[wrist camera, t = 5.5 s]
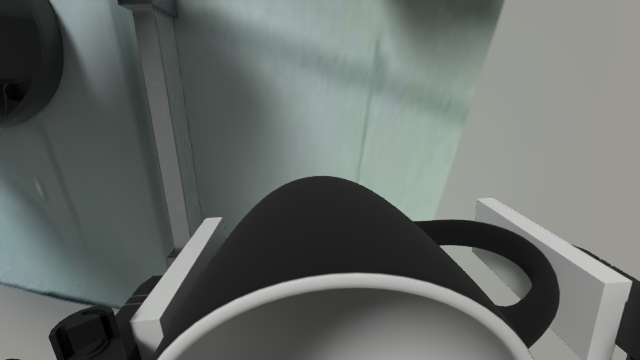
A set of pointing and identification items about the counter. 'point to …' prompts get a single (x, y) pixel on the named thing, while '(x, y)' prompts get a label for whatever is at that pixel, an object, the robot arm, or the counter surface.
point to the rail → (168, 115)
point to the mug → (355, 286)
